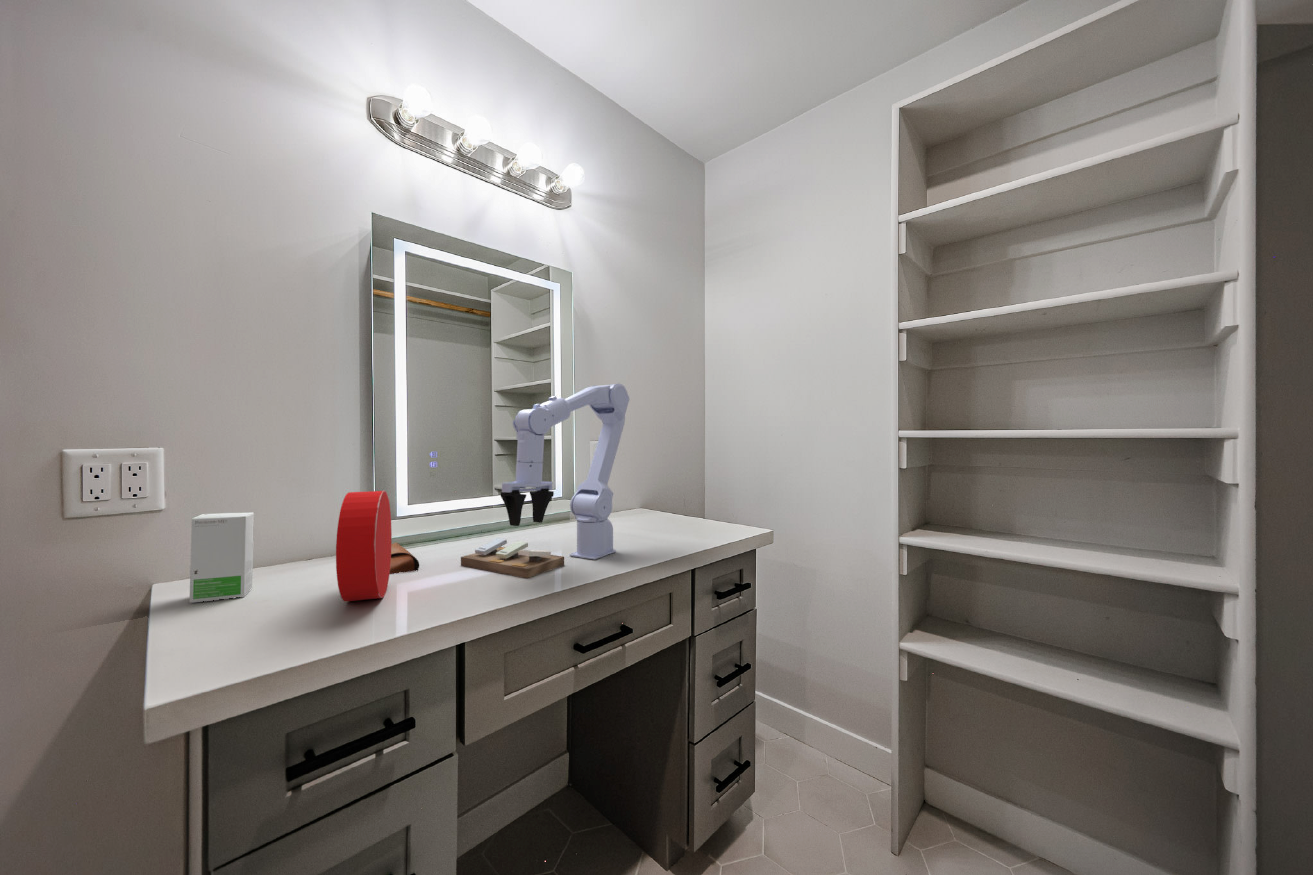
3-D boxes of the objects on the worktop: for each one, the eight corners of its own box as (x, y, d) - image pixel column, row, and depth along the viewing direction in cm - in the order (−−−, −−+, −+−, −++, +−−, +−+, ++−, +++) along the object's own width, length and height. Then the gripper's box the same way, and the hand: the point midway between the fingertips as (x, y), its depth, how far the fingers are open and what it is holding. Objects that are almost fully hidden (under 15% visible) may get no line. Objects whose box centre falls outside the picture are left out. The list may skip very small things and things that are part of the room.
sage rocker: (518, 544, 121) (517, 540, 121) (528, 546, 120) (527, 542, 120) (496, 557, 115) (495, 552, 115) (506, 558, 114) (505, 554, 114)
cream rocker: (539, 554, 118) (540, 549, 118) (550, 556, 116) (551, 551, 116) (518, 554, 112) (519, 549, 112) (529, 556, 110) (529, 551, 110)
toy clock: (359, 584, 103) (359, 486, 103) (391, 581, 105) (391, 485, 105) (336, 617, 85) (335, 498, 84) (375, 613, 87) (374, 497, 87)
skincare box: (188, 604, 91) (187, 518, 91) (200, 594, 97) (199, 513, 97) (246, 597, 95) (245, 515, 95) (255, 587, 101) (254, 510, 101)
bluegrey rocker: (497, 541, 125) (497, 537, 125) (507, 543, 123) (506, 539, 123) (475, 553, 119) (474, 549, 119) (484, 555, 117) (484, 550, 117)
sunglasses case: (362, 560, 123) (378, 534, 125) (390, 570, 126) (405, 545, 129) (378, 576, 109) (395, 547, 111) (408, 587, 113) (424, 559, 115)
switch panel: (500, 554, 128) (500, 543, 128) (564, 565, 118) (564, 552, 118) (460, 565, 118) (460, 553, 118) (527, 578, 107) (527, 564, 107)
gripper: (536, 462, 121) (533, 519, 120) (492, 461, 108) (488, 525, 107) (560, 463, 117) (557, 522, 117) (518, 462, 104) (514, 528, 104)
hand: (526, 523), depth 112 cm, fingers open, 7 cm apart
